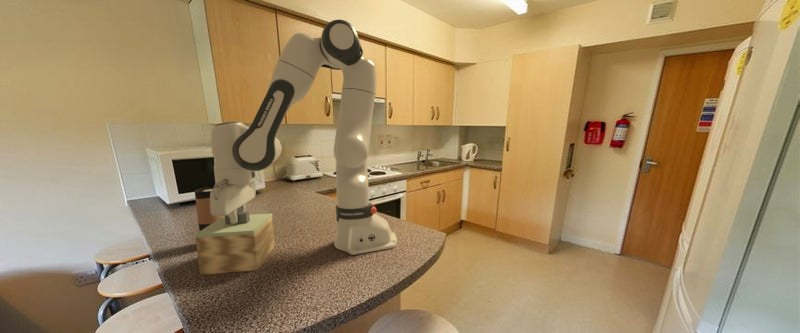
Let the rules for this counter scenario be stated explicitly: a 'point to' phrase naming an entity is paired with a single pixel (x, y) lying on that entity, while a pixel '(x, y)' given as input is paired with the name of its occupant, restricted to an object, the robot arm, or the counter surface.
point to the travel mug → (204, 208)
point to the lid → (235, 225)
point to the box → (235, 251)
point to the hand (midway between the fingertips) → (237, 220)
